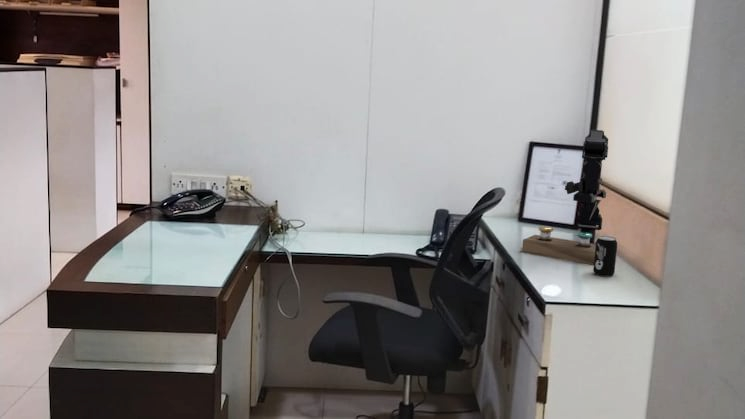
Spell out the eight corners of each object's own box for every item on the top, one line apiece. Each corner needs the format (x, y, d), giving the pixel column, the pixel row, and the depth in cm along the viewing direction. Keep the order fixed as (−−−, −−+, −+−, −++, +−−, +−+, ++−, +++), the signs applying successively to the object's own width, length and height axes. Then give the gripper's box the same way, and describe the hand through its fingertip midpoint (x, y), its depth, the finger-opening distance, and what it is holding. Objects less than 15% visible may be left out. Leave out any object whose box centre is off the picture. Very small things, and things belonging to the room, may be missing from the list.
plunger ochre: (540, 239, 269) (541, 225, 268) (553, 241, 266) (555, 227, 265) (535, 241, 265) (536, 227, 264) (549, 243, 262) (550, 229, 261)
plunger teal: (578, 245, 262) (579, 231, 261) (592, 247, 259) (594, 233, 258) (574, 248, 257) (575, 233, 256) (588, 250, 255) (589, 235, 254)
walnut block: (534, 246, 274) (535, 234, 274) (604, 258, 261) (605, 245, 260) (521, 252, 264) (522, 239, 264) (594, 264, 251) (595, 251, 250)
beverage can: (615, 277, 235) (619, 240, 233) (593, 275, 237) (597, 239, 234) (613, 272, 242) (616, 236, 240) (592, 270, 243) (595, 234, 241)
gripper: (577, 171, 267) (573, 214, 269) (560, 174, 251) (556, 220, 254) (608, 174, 261) (604, 218, 263) (593, 178, 245) (588, 224, 248)
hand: (587, 219), depth 257 cm, fingers closed
